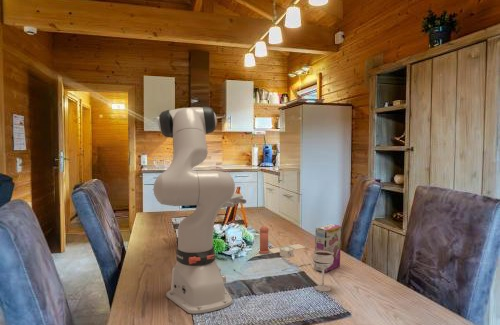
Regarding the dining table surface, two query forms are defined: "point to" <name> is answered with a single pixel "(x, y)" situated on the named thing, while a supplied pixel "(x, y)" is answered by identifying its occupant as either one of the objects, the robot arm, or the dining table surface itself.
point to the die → (286, 252)
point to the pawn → (264, 240)
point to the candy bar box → (329, 243)
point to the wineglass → (323, 264)
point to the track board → (275, 250)
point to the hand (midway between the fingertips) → (239, 203)
